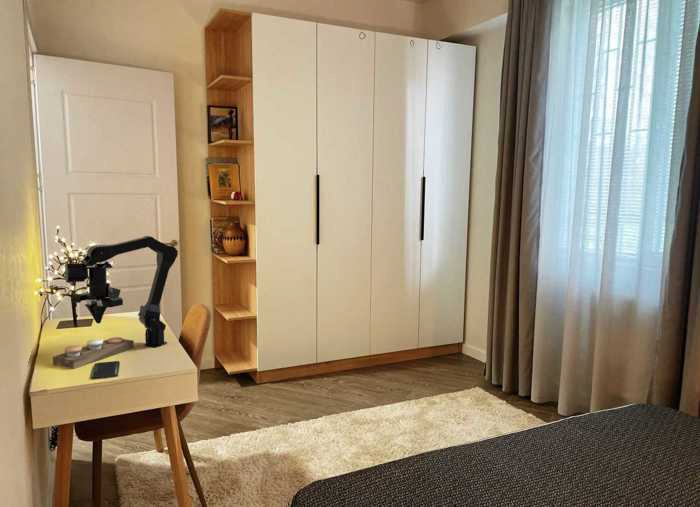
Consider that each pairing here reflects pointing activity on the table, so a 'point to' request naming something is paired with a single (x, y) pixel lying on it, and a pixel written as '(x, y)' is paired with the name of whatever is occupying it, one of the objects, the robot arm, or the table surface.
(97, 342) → the middle knob
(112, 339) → the knob
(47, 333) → the table surface
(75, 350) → the knob
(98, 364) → the phone
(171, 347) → the table surface
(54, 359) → the knob mount
